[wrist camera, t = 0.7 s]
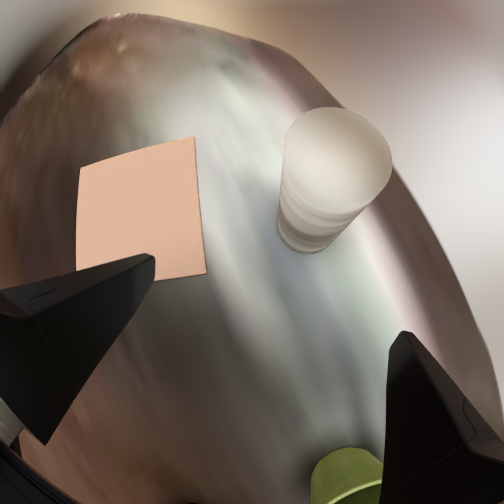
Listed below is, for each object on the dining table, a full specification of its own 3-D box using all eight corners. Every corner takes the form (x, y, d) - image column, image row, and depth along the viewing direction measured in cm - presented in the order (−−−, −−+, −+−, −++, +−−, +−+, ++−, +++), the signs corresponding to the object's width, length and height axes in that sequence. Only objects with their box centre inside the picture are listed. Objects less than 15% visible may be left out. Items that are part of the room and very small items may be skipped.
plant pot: (274, 462, 20) (275, 522, 11) (369, 411, 20) (411, 454, 12) (317, 515, 18) (329, 570, 10) (400, 471, 18) (437, 515, 10)
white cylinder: (303, 266, 23) (339, 226, 11) (264, 219, 24) (260, 140, 12) (348, 228, 23) (411, 164, 11) (309, 184, 24) (338, 93, 12)
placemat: (206, 273, 23) (206, 273, 23) (79, 290, 23) (77, 290, 23) (194, 137, 25) (193, 136, 25) (82, 169, 26) (80, 168, 26)
